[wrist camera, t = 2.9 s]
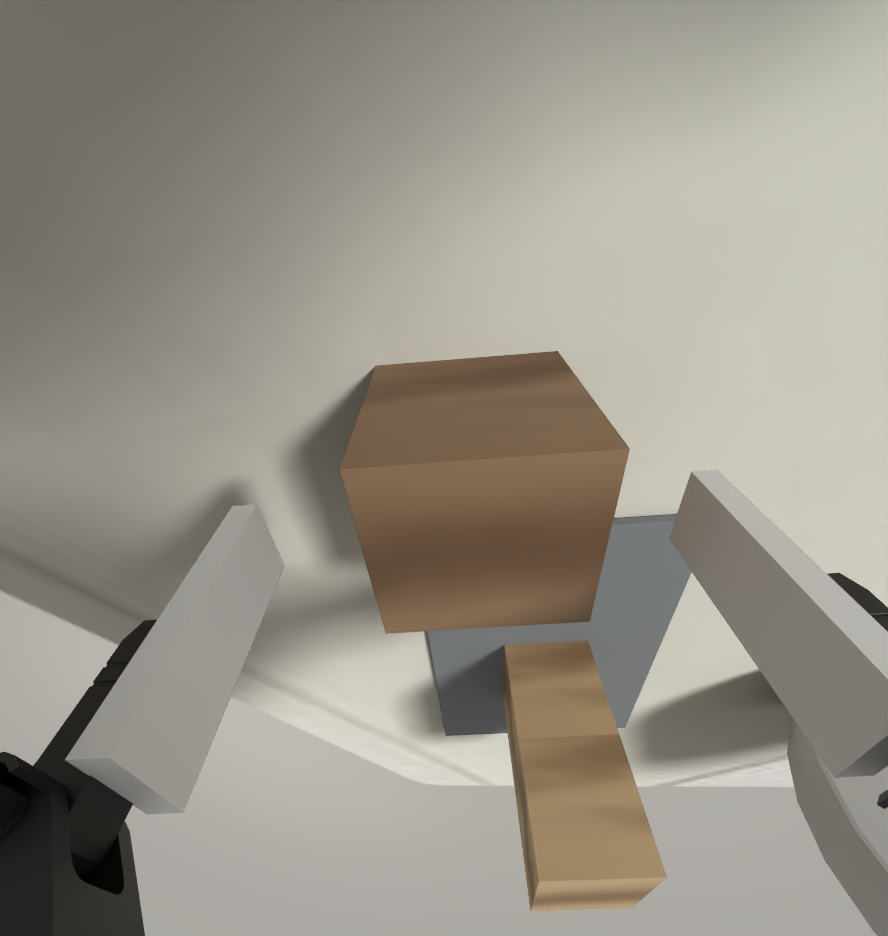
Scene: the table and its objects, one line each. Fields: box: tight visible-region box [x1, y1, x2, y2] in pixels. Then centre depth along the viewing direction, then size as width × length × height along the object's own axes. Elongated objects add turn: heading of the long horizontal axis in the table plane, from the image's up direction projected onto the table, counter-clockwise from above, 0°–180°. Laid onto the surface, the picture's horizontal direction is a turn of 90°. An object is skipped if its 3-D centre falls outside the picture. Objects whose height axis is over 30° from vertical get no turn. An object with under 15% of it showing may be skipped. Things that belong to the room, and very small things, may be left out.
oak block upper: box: [515, 734, 667, 911], centre depth 20 cm, size 7×5×5 cm
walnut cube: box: [339, 351, 629, 633], centre depth 13 cm, size 6×6×6 cm
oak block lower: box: [504, 640, 619, 786], centre depth 24 cm, size 7×5×5 cm
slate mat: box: [427, 514, 692, 736], centre depth 25 cm, size 22×14×1 cm, turn 4°
